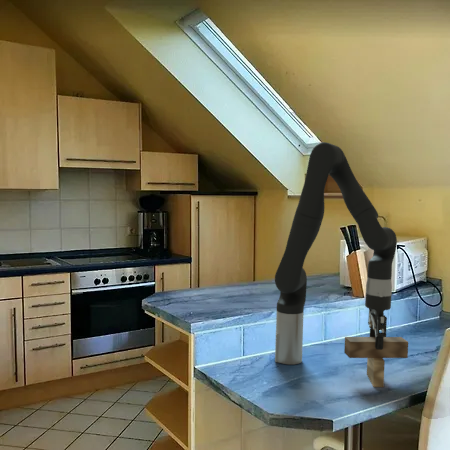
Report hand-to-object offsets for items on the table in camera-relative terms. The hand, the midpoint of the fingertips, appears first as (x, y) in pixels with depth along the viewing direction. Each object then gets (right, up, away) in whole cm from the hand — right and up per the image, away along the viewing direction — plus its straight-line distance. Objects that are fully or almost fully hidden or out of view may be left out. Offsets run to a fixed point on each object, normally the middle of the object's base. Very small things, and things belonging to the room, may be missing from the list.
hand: (375, 344), depth 148 cm
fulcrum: (0, -11, +1) cm, 11 cm away
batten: (0, -3, 0) cm, 3 cm away
